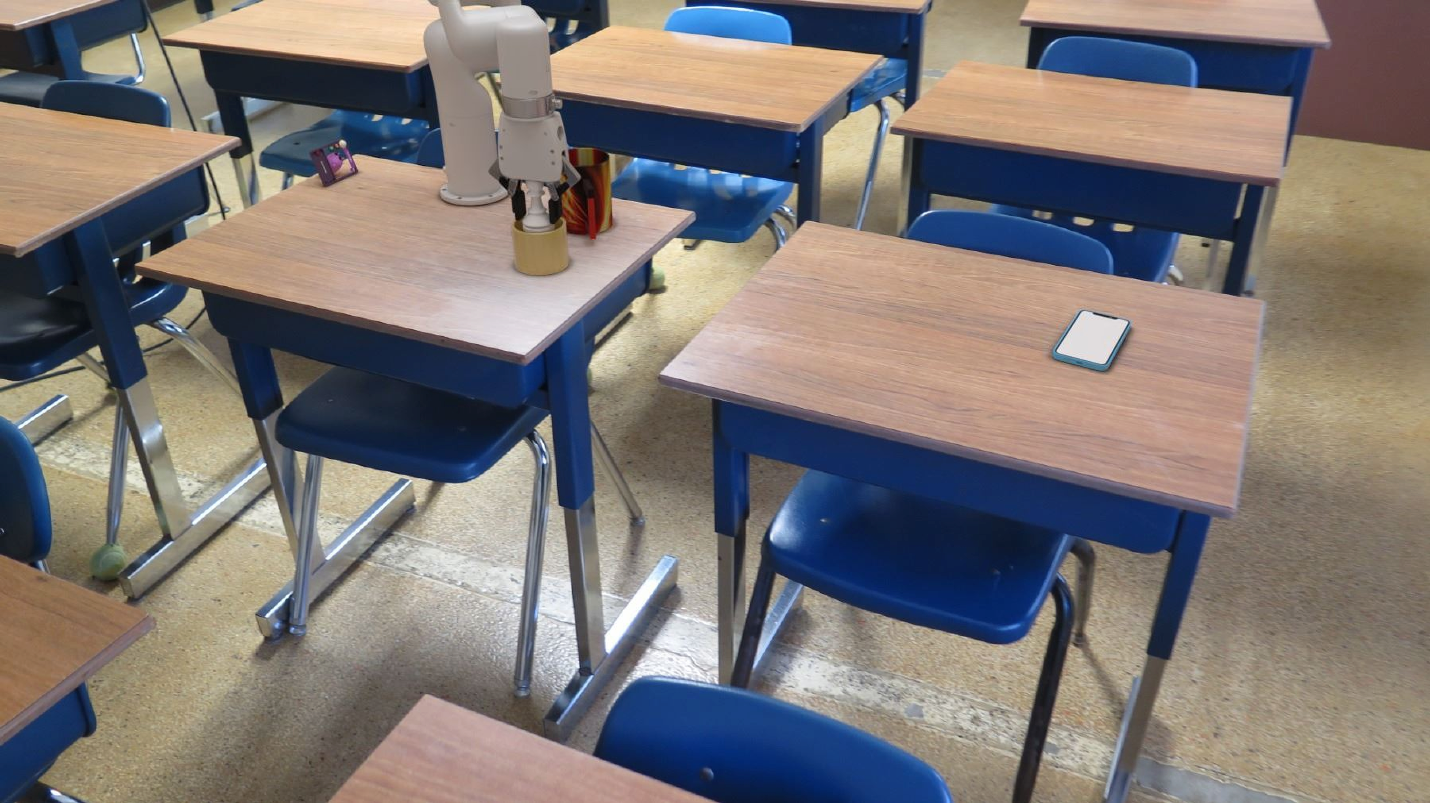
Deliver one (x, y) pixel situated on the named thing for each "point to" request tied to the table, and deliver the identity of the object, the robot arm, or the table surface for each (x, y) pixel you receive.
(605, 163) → the mug
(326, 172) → the game card
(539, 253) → the yellow cup
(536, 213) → the chess pawn
